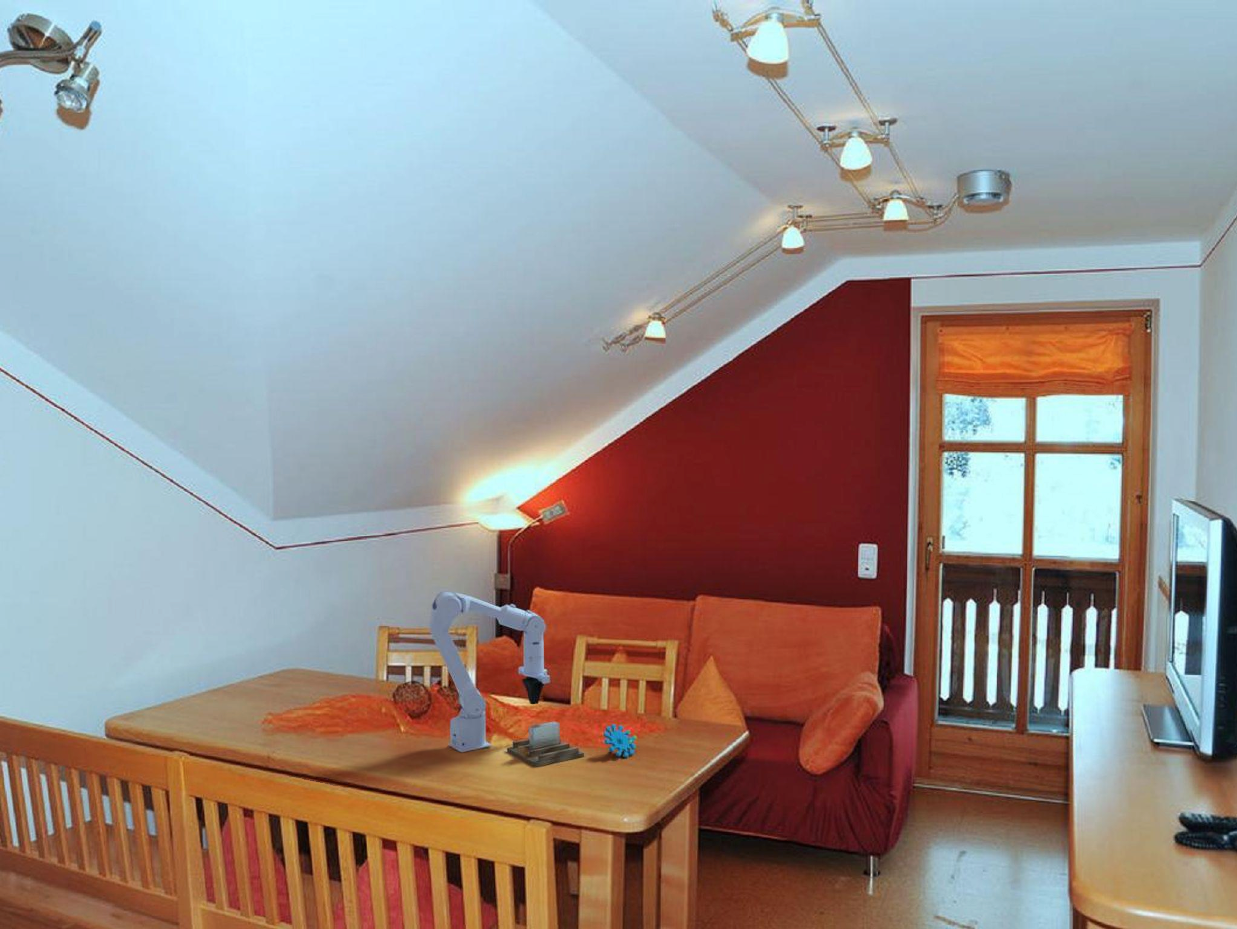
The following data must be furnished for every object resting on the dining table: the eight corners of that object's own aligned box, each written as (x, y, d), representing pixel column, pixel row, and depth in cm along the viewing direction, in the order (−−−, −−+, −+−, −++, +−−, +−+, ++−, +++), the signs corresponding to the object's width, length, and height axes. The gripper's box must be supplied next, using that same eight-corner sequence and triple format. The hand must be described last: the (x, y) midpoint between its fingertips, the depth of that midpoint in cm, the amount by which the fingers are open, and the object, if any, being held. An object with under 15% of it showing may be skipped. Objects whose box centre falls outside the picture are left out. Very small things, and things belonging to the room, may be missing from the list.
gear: (613, 756, 276) (600, 723, 282) (602, 767, 279) (589, 735, 285) (645, 753, 283) (631, 721, 288) (634, 765, 286) (620, 733, 292)
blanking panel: (534, 754, 280) (533, 728, 279) (529, 751, 282) (529, 726, 281) (559, 748, 284) (559, 723, 284) (554, 746, 286) (554, 721, 286)
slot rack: (535, 767, 272) (535, 755, 272) (507, 751, 285) (506, 740, 285) (584, 756, 281) (584, 745, 280) (554, 741, 294) (553, 731, 294)
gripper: (558, 659, 291) (559, 706, 292) (533, 649, 303) (533, 695, 304) (537, 662, 287) (537, 710, 288) (512, 653, 299) (512, 699, 300)
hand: (534, 703), depth 296 cm, fingers closed
